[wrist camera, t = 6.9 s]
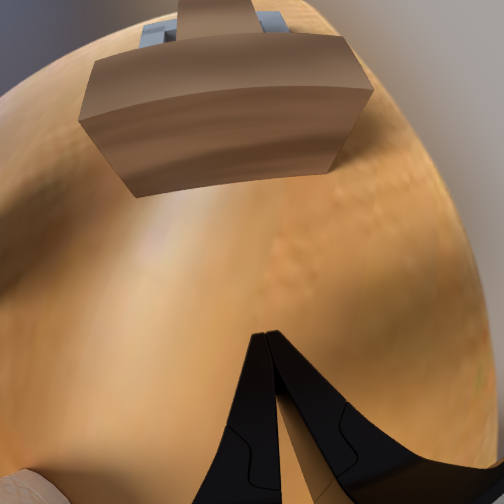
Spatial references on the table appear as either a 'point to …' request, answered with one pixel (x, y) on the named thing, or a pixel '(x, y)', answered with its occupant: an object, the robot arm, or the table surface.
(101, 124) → the walnut T block
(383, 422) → the table surface
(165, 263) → the table surface
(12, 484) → the white cup
